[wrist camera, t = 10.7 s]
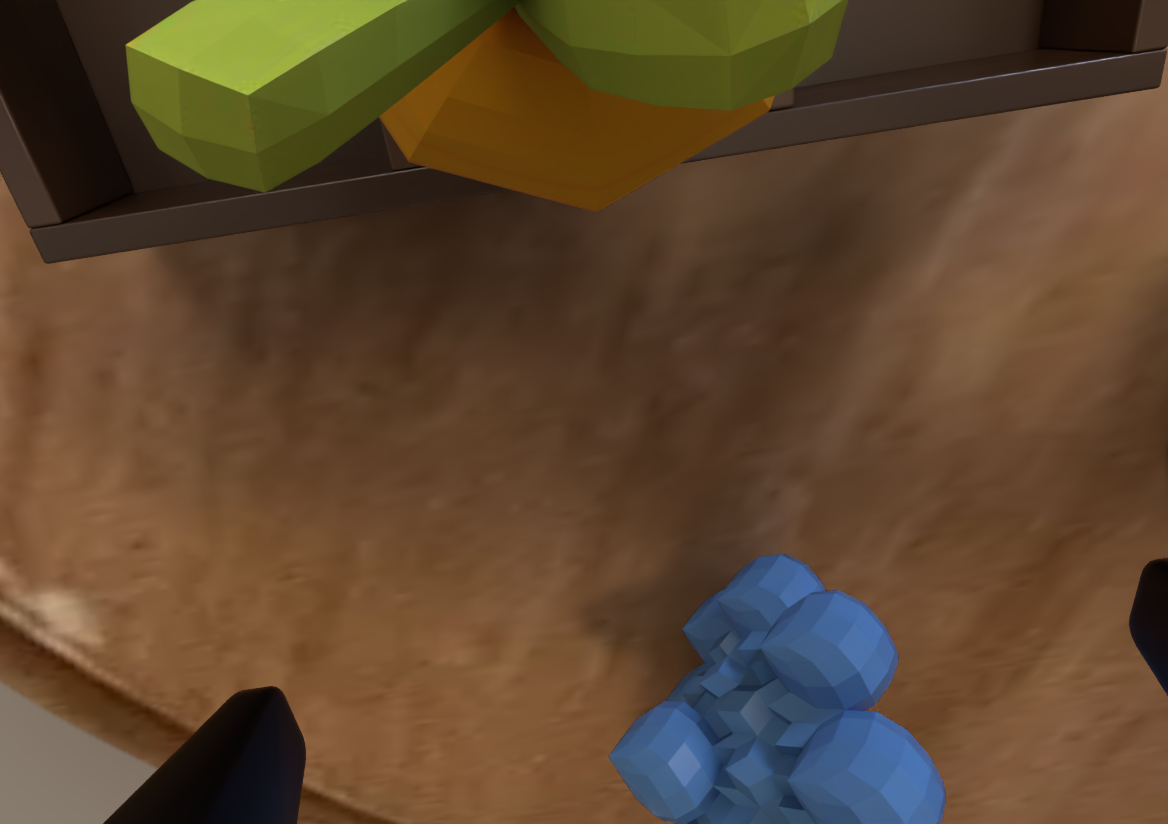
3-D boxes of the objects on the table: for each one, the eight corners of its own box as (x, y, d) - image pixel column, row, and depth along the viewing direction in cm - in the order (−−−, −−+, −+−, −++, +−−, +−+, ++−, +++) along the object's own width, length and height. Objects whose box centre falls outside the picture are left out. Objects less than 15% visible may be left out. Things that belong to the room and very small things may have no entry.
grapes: (626, 437, 22) (720, 843, 11) (848, 463, 22) (1134, 861, 12) (563, 721, 27) (585, 1183, 16) (745, 733, 28) (880, 1179, 17)
